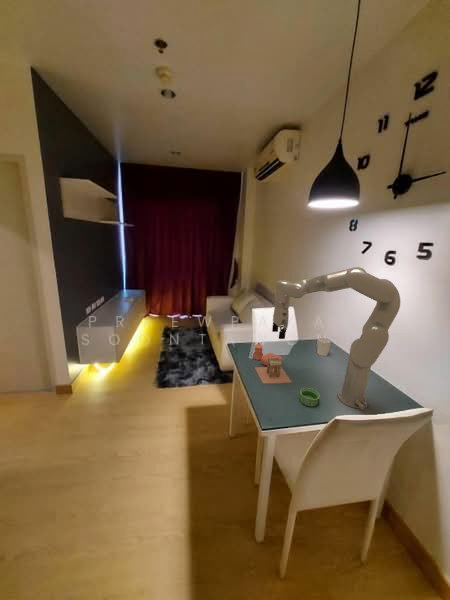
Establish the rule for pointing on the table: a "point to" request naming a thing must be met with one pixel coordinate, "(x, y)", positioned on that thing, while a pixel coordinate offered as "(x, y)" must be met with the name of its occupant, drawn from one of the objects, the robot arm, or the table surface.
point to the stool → (273, 362)
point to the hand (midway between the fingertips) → (278, 335)
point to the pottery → (259, 355)
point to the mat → (274, 379)
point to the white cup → (323, 346)
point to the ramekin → (309, 396)
